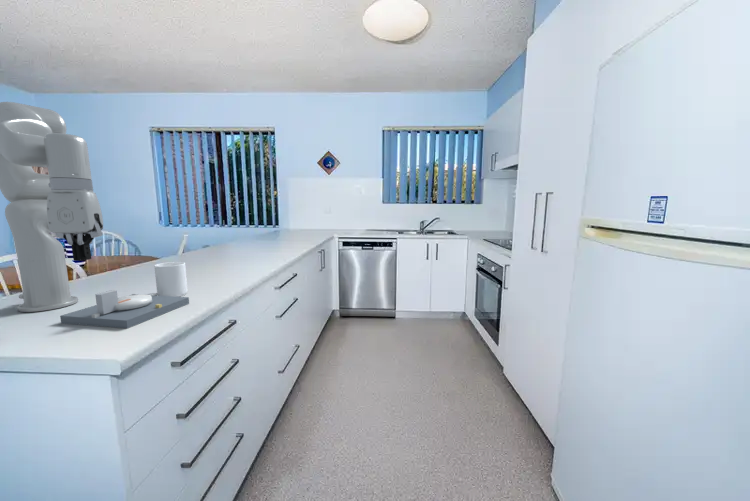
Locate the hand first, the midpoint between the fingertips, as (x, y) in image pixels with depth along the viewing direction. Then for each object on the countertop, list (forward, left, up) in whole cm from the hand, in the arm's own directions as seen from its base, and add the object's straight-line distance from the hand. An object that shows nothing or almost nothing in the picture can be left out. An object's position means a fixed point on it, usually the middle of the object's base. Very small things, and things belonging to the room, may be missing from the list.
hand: (82, 259), depth 79 cm
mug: (+1, +25, -16) cm, 30 cm away
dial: (+5, +6, -14) cm, 16 cm away
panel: (+5, +7, -16) cm, 18 cm away
